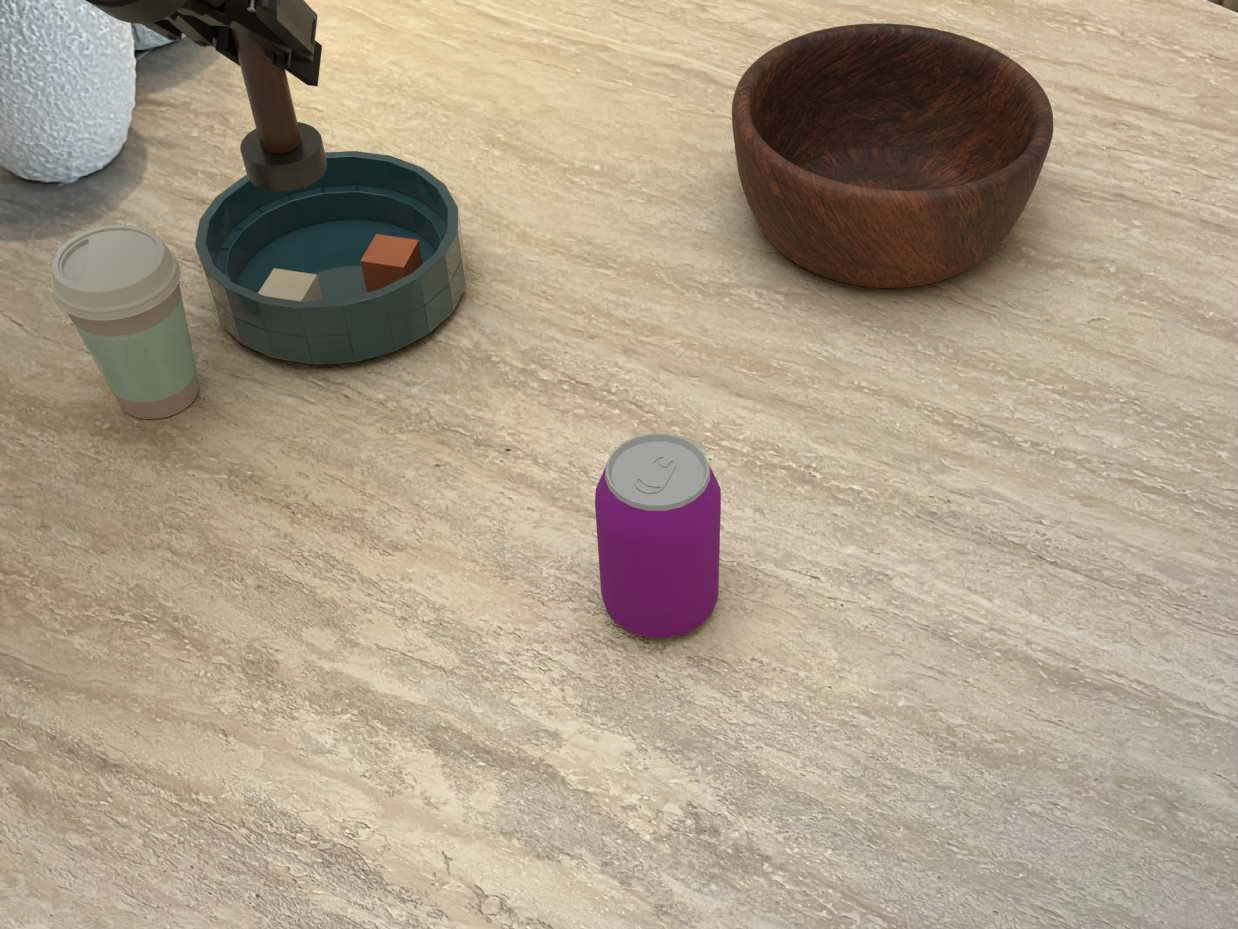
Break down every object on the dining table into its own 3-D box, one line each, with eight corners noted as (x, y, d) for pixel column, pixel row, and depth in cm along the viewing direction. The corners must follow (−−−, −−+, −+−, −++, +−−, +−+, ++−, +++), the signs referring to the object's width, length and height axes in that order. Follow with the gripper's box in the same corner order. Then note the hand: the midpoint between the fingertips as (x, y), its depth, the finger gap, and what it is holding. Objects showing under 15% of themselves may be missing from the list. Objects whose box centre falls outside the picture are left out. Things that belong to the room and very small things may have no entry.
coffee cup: (150, 342, 112) (99, 206, 102) (241, 375, 109) (198, 239, 100) (75, 411, 107) (15, 274, 97) (168, 447, 105) (117, 311, 95)
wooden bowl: (954, 113, 131) (973, 0, 123) (1083, 279, 117) (1113, 164, 109) (689, 161, 126) (690, 47, 118) (789, 340, 112) (797, 224, 104)
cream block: (266, 334, 111) (255, 296, 108) (283, 305, 113) (273, 267, 110) (309, 340, 111) (299, 302, 108) (326, 311, 113) (317, 274, 110)
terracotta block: (367, 298, 114) (360, 260, 111) (383, 271, 116) (376, 233, 113) (410, 304, 113) (403, 267, 110) (425, 277, 115) (419, 239, 113)
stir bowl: (174, 351, 111) (151, 285, 106) (274, 202, 123) (257, 137, 118) (419, 389, 109) (407, 324, 104) (498, 233, 120) (490, 169, 115)
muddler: (234, 186, 102) (165, -63, 88) (265, 141, 105) (203, -105, 91) (310, 196, 101) (252, -53, 87) (339, 151, 104) (287, -95, 91)
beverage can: (637, 543, 99) (632, 409, 90) (738, 582, 97) (744, 449, 87) (580, 620, 95) (568, 487, 86) (684, 663, 93) (684, 532, 83)
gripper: (-37, -14, 79) (177, 105, 102) (238, 19, 77) (393, 132, 100) (-25, -161, 78) (188, -8, 101) (254, -131, 76) (407, 18, 99)
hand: (290, 62), depth 101 cm, fingers closed on muddler, 3 cm apart
